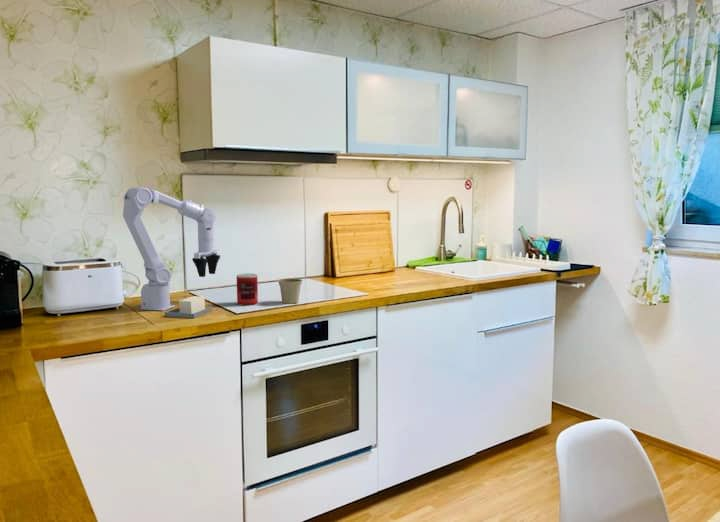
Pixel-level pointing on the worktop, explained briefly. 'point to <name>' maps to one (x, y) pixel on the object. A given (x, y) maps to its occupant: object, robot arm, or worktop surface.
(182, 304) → the cream block
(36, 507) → the worktop surface
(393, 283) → the worktop surface
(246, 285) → the canned food
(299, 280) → the flower pot
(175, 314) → the tray
